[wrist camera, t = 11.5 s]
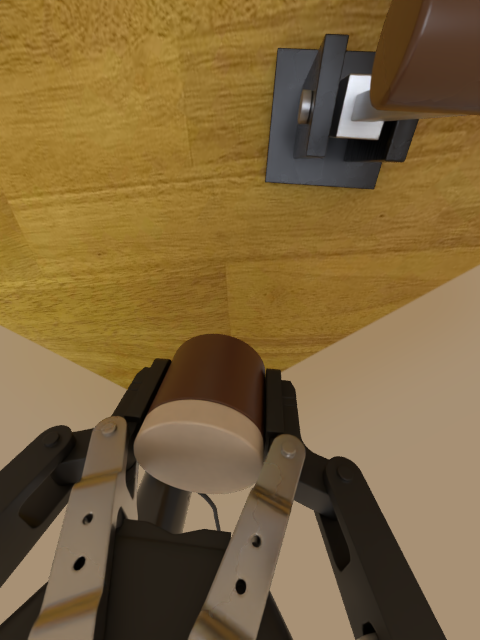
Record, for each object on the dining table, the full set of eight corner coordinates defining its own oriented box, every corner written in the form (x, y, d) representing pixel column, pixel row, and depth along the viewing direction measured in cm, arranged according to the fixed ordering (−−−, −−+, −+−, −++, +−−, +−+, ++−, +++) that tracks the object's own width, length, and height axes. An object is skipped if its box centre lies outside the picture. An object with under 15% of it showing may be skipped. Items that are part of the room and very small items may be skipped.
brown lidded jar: (261, 405, 15) (258, 501, 11) (178, 397, 15) (144, 487, 11) (269, 337, 12) (270, 431, 8) (168, 329, 13) (119, 415, 8)
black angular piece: (368, 188, 22) (429, 203, 14) (265, 181, 22) (263, 192, 14) (405, 59, 18) (526, -30, 9) (277, 54, 18) (284, -35, 10)
